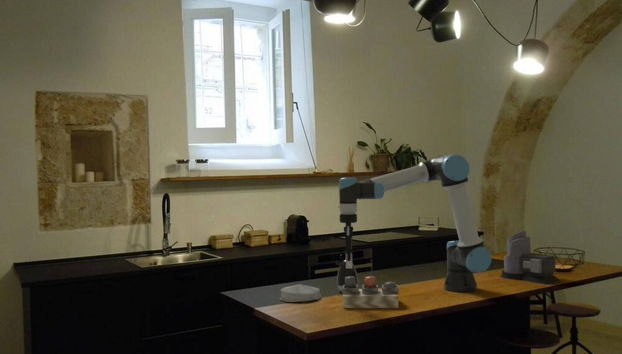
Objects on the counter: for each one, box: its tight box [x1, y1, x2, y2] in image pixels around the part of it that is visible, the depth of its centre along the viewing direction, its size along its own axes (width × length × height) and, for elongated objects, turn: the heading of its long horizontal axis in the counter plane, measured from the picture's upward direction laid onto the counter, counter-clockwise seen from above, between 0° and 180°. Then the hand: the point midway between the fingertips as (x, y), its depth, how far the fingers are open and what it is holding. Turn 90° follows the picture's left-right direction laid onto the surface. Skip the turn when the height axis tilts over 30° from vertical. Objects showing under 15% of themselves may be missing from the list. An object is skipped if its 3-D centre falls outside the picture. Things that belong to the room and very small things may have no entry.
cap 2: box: [384, 281, 396, 288], centre depth 234 cm, size 4×4×4 cm
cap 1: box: [345, 276, 355, 288], centre depth 236 cm, size 4×4×4 cm
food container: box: [279, 283, 323, 303], centre depth 250 cm, size 20×20×7 cm
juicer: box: [499, 230, 561, 285], centre depth 281 cm, size 30×16×24 cm, turn 32°
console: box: [341, 284, 400, 309], centre depth 235 cm, size 24×14×8 cm, turn 84°
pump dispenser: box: [335, 259, 359, 292], centre depth 261 cm, size 10×10×15 cm
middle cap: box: [364, 275, 376, 288], centre depth 235 cm, size 4×4×4 cm
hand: (349, 268), depth 236 cm, fingers closed
